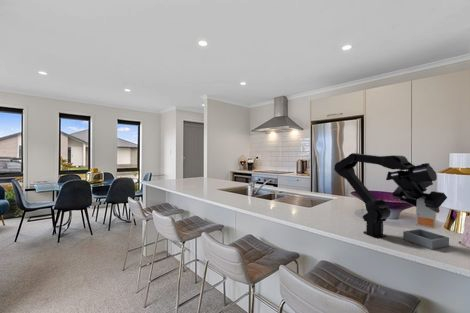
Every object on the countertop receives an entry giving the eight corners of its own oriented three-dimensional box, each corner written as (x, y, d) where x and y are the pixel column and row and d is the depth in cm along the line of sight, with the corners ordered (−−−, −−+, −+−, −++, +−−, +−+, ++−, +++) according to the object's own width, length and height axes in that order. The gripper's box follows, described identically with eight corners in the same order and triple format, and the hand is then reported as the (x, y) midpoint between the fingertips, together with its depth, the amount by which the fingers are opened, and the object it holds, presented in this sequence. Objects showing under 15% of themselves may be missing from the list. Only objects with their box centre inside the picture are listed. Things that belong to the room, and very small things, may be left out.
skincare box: (415, 225, 90) (416, 196, 91) (416, 223, 94) (416, 195, 94) (435, 229, 86) (435, 198, 86) (435, 226, 89) (436, 197, 90)
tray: (431, 249, 83) (432, 240, 83) (403, 239, 93) (403, 231, 93) (448, 246, 86) (449, 237, 86) (419, 236, 96) (419, 228, 96)
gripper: (443, 171, 80) (467, 200, 82) (398, 168, 99) (418, 192, 100) (424, 192, 79) (449, 222, 81) (382, 185, 97) (403, 209, 99)
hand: (428, 209), depth 90 cm, fingers closed on skincare box, 7 cm apart
